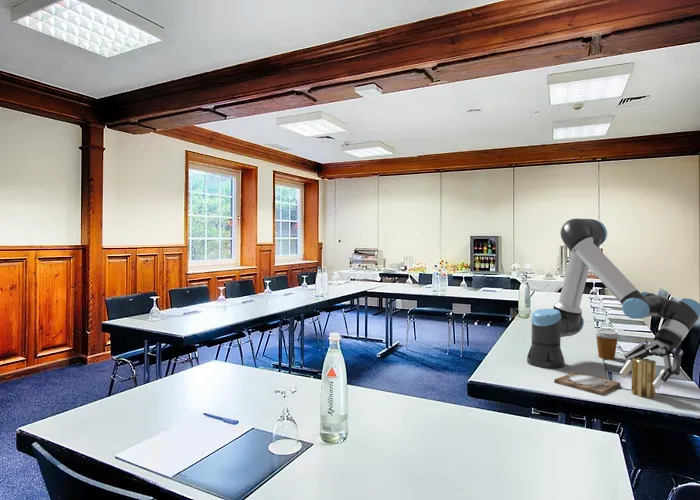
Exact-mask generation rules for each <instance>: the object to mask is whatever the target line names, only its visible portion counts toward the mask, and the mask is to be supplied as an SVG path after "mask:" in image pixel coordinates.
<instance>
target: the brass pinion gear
mask: <svg viewBox="0 0 700 500" xmlns="http://www.w3.org/2000/svg"><path fill="white" fill-rule="evenodd" d="M656 370H657V362H656V360H651V359H649V358H643V359H642V358H637V359H636V358H632V369H631V394H632V395H637V397H645V398H648V399H649V398H655V397H656V388H655V387H654V385H653V382H654V381H655V379H656V378H657V377H656V376H657V375H656V373H657V371H656Z"/></svg>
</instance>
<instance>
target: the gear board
mask: <svg viewBox="0 0 700 500" xmlns="http://www.w3.org/2000/svg"><path fill="white" fill-rule="evenodd" d="M553 381H554V383H555V384H558V385H562V386H566V387H569V388H574V389H577V390H580V391H581V390H582V391H584V392H589V393H592V394H596V395H599V396H603V395H605V394H606V393H610V392H611V391H613V390H615V389H617V388H619V387H621V385H622V384H621V382H618V381H615V380H610V379H607V378H602V377H598V376H595V375H589V374H585V373H582V372H581V373H580V372H576V371H573V372H571V373H568V374H565V375H563V376H560V377H557V378H555V379H554V380H553Z"/></svg>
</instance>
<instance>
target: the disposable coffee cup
mask: <svg viewBox="0 0 700 500" xmlns="http://www.w3.org/2000/svg"><path fill="white" fill-rule="evenodd" d="M594 334H595V337H596V344H597V353H598V354H597V355H598V357H599V358H600V359H603V360H614V359H615V357H616V350H617V345H618V340H619V337H620V335H619V333H618V332H617V331H614V330H609V329H608V330H607V329H597V330H596V331H595V333H594Z"/></svg>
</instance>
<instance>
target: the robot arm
mask: <svg viewBox="0 0 700 500" xmlns="http://www.w3.org/2000/svg"><path fill="white" fill-rule="evenodd" d="M560 237H561V241H562V242H563V244H564V246H565V247H567V249H568V250H569V251H570V255H569V259H568V264H567V266H566V271H565V275H564V279H563V282H562V283H563V284H562V287H561V291H560V295H559V299H558V301H557V302H555V303H554V305H553V308H541V309H539V308H538V309H536V310H535V311H532V315H531V320H530V321H531V344H530V347H529V351H528V353H527V355H526V362H527V363H528V364H530V365H532V366H535V367H539V368H546V369H561V368H563V367H565V357H564V354H563V350H562V348H561V338H564V337H565V338H566V337H572V336H574V335H577V334H578V333H580V332H581V331H582V329H583V328H584V323H585V321H584V320H585V319H584V317H583V315H582V313H583V309H582V308H581V302H582V298H583V296H584V295H583V294H584V290H585V286H586V283H587V279H588V275H589V272H590V270H591V272H593V274H594V275H595V276H596V278H598V279H599V280H600V281H601V282H602V284H603V285H604V286H605V287H606V288H607V290H609V292H610V293H611V294H612V295H613V296H614V298H616V299H617V300H618V302H620V303H621V306H622V307H621V309H622V312H623V313H624V316H626V317H627V318H629V319H632V320H636V319H638V320H641V319H644V318H648V317H654V316H655V317H659V318H661V319H664V320H666V321H664V323H663V324H662V326H661V327H660V329H659V330H658V331H657V333H656V334H655V335H654V337H653V338H654V339H653V340H651V342H650V341H648V340H647V339H642V341H641V342H640V343H639V344H638V345H636V346H635V347H633V348H632V349H630V350H629V351H628V352H626V353H624V355H623V357H624V358H625V359H626V361H625V362H624V363H623V365H622V369H621V370H620V371H619V375H620V376H621V377H622V378H623V379H626V377H627V376H628V374H629V373H630V372H632V358H636V359H637V358H642V359H647V358H648V357H653V356H656V357H660V358H663V362H664V369H661V371H660V372H659V374H658V375H656V376H657V377H656V379H655V381H654V382H653V385H654V387H655V390H659V389H660V388H661V386H662V385H663V384H664V382H668V380H669V379H670V377H671V376H672V375H676V376H679V375H680V374H681V373H680V372H681V364H682V358H683V355H684V353H685V352H684V351H683V350H682V349H681V347H680V346H681V344H682V341H684V340H685V338H686V337H687V335H688V333H689V332H690V331H691V330H692V328H693V327H694V326H695V324H696V323H697V321H699V318H700V302H698V301H696V300H694V299H693V298H689V297H688V298H686V297H684V298H681V299H680V300H679V301H676V300H672V299H669V298H666V297H663V296H660V295H658V294H655V293H652V292H647V291H642V292H640V291H639V289H638V288H637V287H636V286H635V285H634V284H632V282H631V281H630V279H628V278H627V277H626V275H624V273H623V272H621V270H620V269H619V268H618V267H617V266H616V265H615V264H614V263H613V262H612V261H611V260H610V258H608V256H607V255H605V254H604V252H603V251H602V250H601V249H600V246H601V245H602V244H604V242H605V241H606V240H607V237H608V230H607V227H606V226H605V225H604V223H602V222H601V221H599V220H597V219H592V218H576V217H575V218H571V219H568V220H567V221H566V222H565V223H563V225H562V226H561V228H560ZM672 354H673V359H672V361H671V356H670V355H672Z"/></svg>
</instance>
